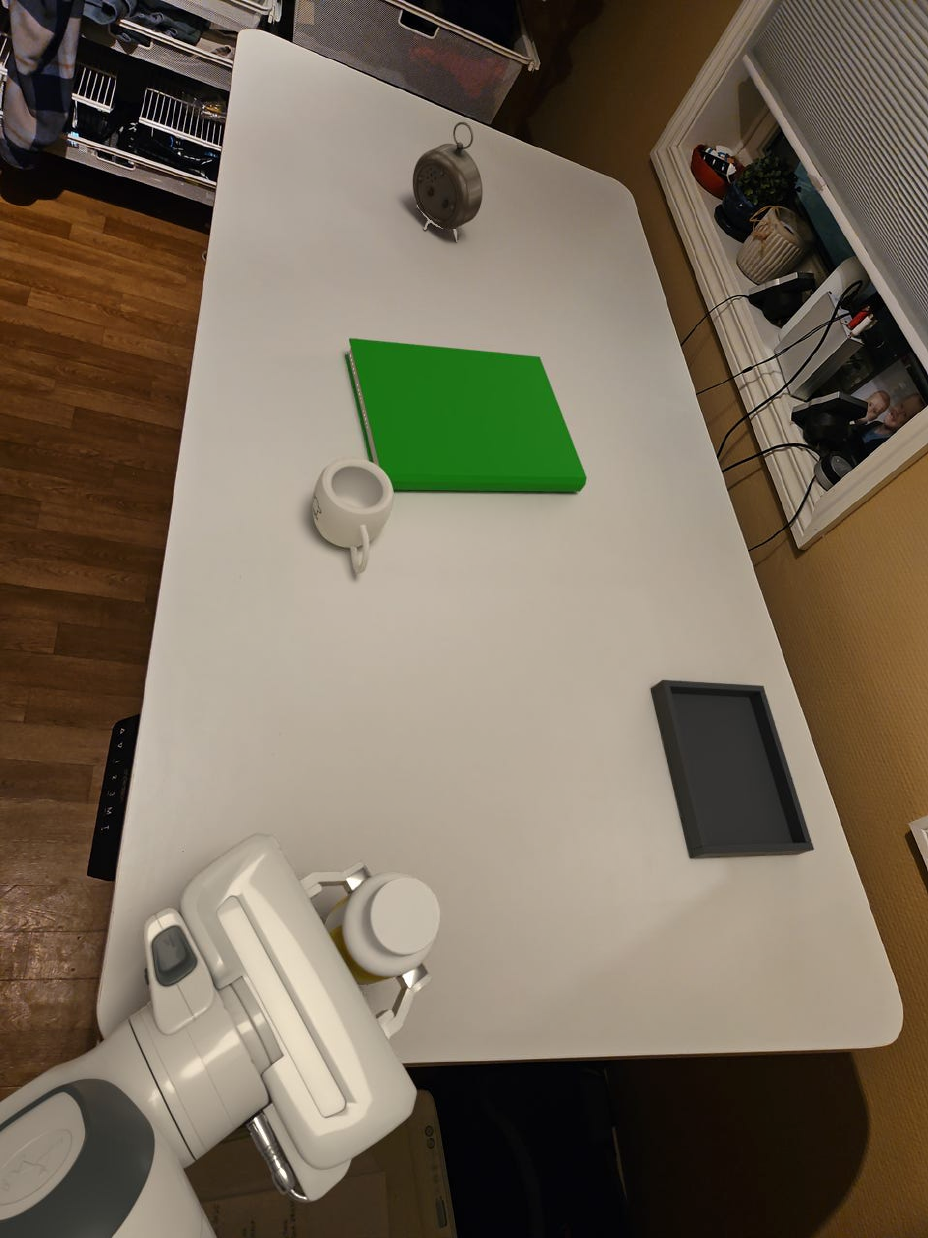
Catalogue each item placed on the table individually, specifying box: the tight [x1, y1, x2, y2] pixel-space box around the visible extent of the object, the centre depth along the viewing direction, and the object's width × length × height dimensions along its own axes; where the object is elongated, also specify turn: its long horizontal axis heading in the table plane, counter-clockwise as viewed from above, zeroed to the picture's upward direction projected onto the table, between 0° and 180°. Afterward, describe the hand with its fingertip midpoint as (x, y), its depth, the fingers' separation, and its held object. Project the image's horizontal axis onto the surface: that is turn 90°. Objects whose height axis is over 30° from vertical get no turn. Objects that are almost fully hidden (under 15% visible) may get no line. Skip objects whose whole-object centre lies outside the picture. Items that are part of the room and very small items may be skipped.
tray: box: [650, 679, 815, 860], centre depth 82 cm, size 20×15×3 cm
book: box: [344, 337, 588, 493], centre depth 95 cm, size 22×28×3 cm
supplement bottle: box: [323, 871, 441, 986], centre depth 51 cm, size 7×7×13 cm
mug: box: [311, 456, 395, 574], centre depth 78 cm, size 12×8×8 cm
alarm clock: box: [412, 121, 484, 231], centre depth 109 cm, size 11×5×16 cm, turn 51°
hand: (394, 918), depth 51 cm, fingers closed on supplement bottle, 6 cm apart
